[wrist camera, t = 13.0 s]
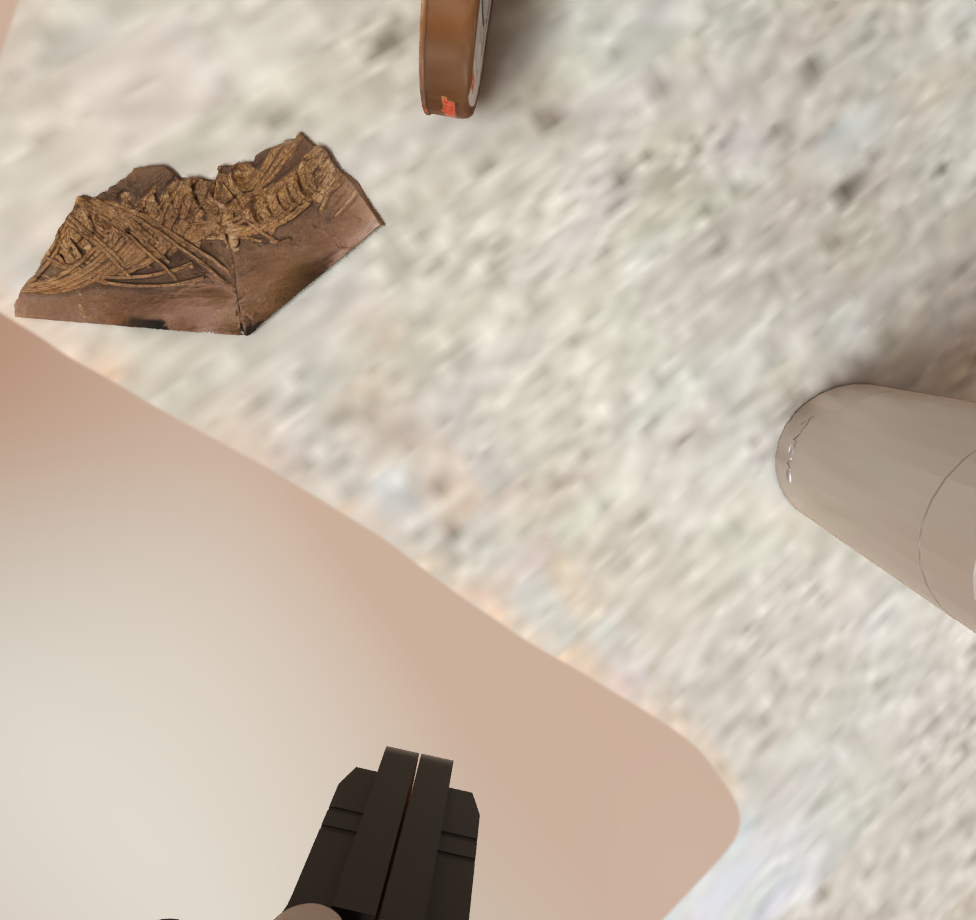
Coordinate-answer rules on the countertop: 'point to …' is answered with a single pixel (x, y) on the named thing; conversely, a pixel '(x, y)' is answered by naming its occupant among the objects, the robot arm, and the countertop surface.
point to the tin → (452, 55)
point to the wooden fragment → (201, 244)
